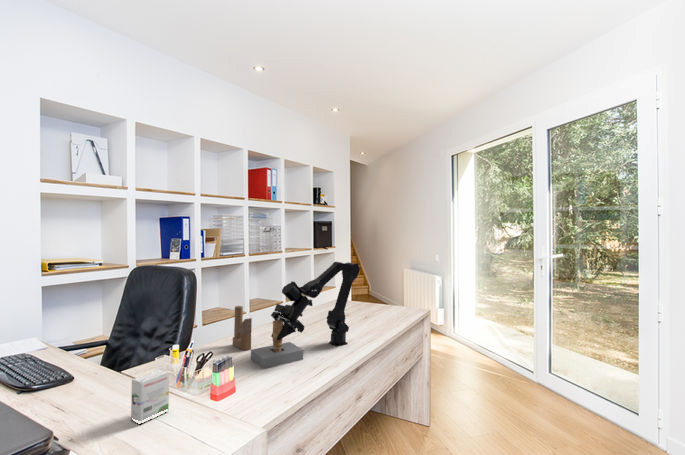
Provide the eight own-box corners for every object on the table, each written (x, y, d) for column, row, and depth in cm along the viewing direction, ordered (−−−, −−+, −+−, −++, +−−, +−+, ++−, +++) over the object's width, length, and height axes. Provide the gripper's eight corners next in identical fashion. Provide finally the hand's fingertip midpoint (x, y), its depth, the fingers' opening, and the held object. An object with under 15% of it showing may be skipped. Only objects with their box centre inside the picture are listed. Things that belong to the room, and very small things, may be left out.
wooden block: (244, 351, 152) (244, 310, 152) (232, 345, 160) (232, 306, 160) (251, 349, 155) (252, 309, 155) (239, 343, 162) (240, 305, 162)
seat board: (289, 350, 154) (289, 341, 154) (303, 359, 144) (303, 349, 144) (250, 359, 143) (250, 349, 143) (262, 369, 134) (262, 358, 134)
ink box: (159, 407, 104) (160, 368, 104) (169, 412, 102) (170, 372, 102) (130, 420, 97) (130, 378, 97) (140, 426, 94) (140, 383, 95)
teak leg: (281, 352, 146) (282, 319, 146) (282, 356, 142) (283, 322, 142) (272, 353, 145) (272, 320, 145) (272, 357, 141) (273, 322, 141)
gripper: (275, 293, 153) (251, 322, 146) (298, 300, 139) (274, 332, 132) (289, 308, 159) (268, 337, 151) (314, 316, 145) (291, 348, 137)
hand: (274, 338), depth 143 cm, fingers closed on teak leg, 4 cm apart
